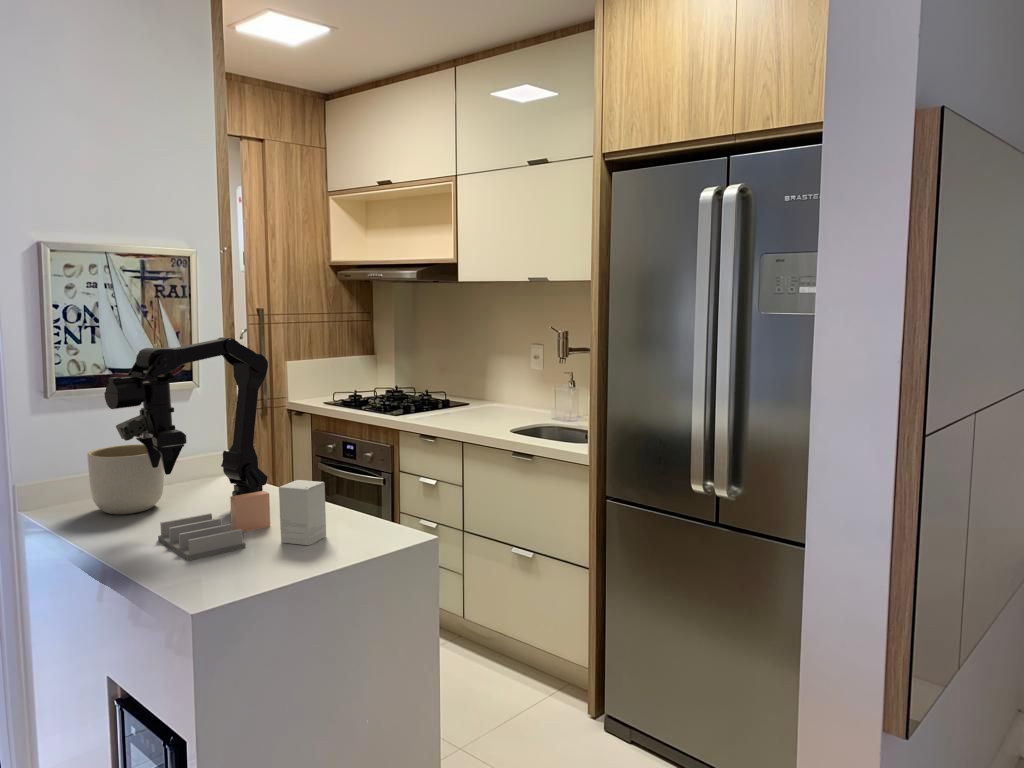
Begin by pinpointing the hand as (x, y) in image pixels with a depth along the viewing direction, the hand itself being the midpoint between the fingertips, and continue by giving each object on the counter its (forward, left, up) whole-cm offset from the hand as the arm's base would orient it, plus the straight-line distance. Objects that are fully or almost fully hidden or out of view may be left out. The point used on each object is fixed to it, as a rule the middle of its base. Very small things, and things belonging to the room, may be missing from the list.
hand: (161, 470), depth 174 cm
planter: (+1, -23, -14) cm, 27 cm away
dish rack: (-2, +17, -14) cm, 22 cm away
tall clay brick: (-15, +13, -14) cm, 24 cm away
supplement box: (-20, +29, -14) cm, 38 cm away
